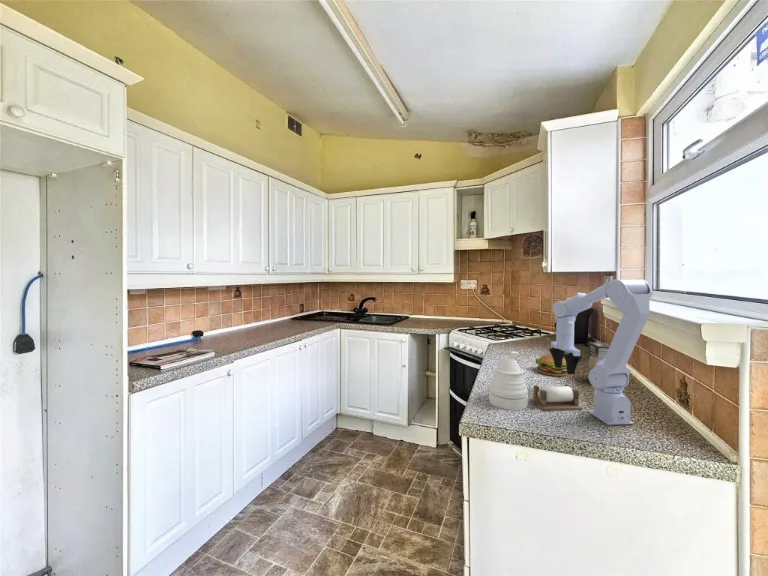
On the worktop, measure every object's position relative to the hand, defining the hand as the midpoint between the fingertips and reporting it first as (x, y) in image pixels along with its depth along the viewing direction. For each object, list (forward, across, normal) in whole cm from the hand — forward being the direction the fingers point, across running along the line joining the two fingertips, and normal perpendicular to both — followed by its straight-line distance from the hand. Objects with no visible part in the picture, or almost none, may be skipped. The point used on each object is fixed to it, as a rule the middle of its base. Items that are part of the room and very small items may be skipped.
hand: (564, 370), depth 120 cm
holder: (+9, +8, -8) cm, 15 cm away
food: (+10, -27, +12) cm, 31 cm away
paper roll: (+5, +8, -8) cm, 13 cm away
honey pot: (+10, +4, -23) cm, 25 cm away
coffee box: (+10, -12, +23) cm, 28 cm away
